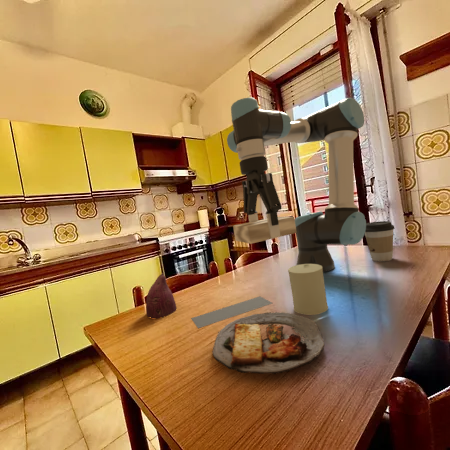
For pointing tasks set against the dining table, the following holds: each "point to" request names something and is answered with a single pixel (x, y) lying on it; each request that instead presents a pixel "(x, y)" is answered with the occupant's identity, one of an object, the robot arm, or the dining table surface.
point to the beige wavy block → (262, 230)
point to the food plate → (267, 343)
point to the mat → (229, 311)
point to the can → (308, 289)
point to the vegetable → (160, 299)
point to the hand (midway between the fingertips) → (265, 236)
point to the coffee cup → (380, 240)
